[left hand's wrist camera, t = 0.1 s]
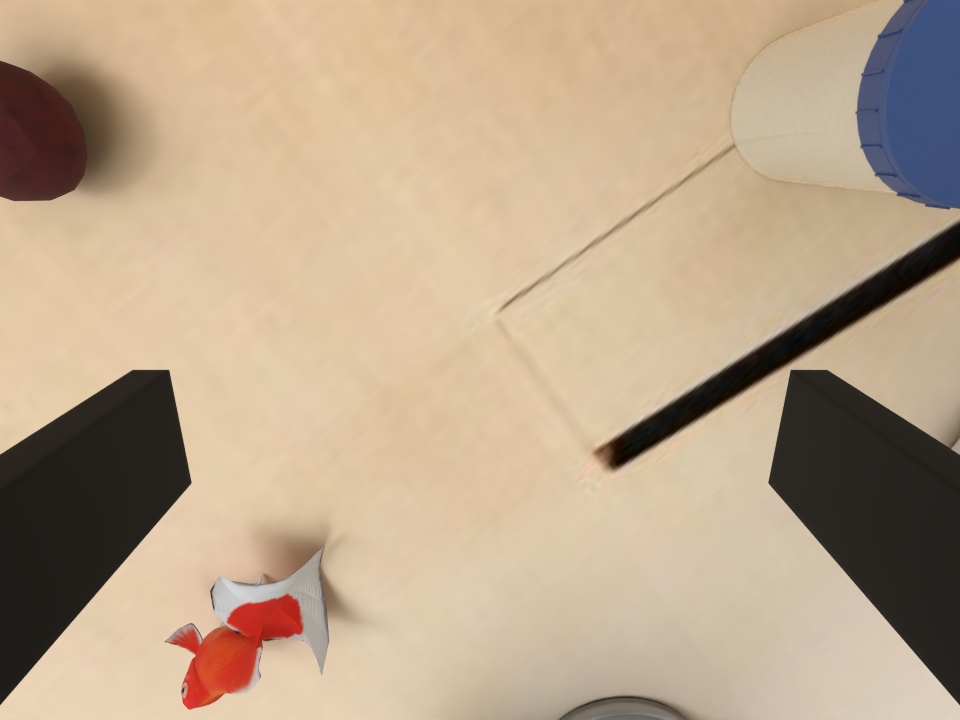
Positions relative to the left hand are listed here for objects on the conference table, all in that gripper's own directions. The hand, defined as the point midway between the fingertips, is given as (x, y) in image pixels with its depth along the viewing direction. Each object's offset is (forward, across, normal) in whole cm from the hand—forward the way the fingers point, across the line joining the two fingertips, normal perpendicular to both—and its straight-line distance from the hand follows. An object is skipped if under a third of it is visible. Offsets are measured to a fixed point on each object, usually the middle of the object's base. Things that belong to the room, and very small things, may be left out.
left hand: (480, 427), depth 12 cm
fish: (+28, +18, +29) cm, 44 cm away
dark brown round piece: (+28, +27, -6) cm, 39 cm away
